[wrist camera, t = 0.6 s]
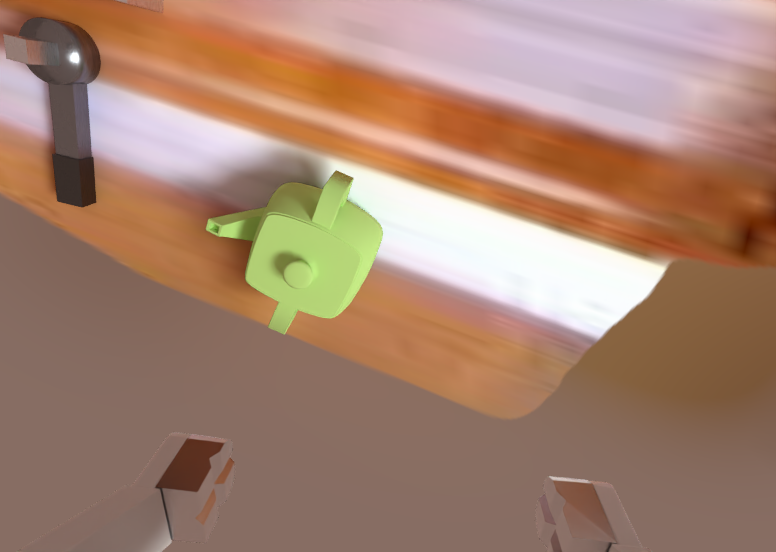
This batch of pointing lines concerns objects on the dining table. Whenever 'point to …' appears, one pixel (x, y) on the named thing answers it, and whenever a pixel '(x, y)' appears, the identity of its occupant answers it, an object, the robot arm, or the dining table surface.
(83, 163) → the ratchet
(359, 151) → the dining table surface
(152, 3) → the cube with grey knob
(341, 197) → the teapot
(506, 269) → the dining table surface
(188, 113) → the dining table surface
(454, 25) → the dining table surface
